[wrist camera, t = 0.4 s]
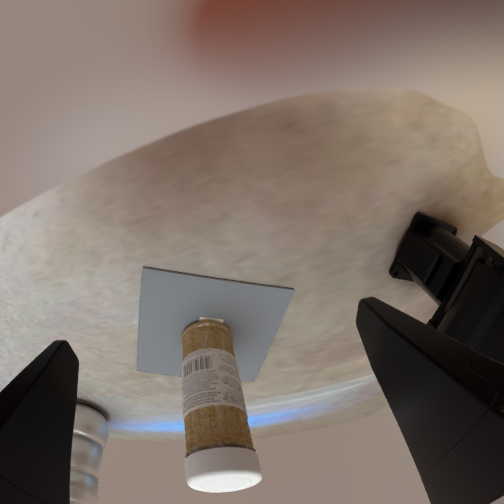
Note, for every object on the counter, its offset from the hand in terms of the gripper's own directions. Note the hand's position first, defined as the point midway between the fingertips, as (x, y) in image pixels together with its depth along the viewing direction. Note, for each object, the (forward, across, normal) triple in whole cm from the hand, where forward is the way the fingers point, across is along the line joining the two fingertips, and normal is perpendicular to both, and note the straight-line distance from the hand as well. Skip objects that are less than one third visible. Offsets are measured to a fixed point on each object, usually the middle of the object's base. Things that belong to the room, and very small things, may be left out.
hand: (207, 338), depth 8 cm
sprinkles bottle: (+13, +2, +12) cm, 18 cm away
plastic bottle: (+13, +20, +23) cm, 33 cm away
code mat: (+13, +2, +12) cm, 18 cm away
